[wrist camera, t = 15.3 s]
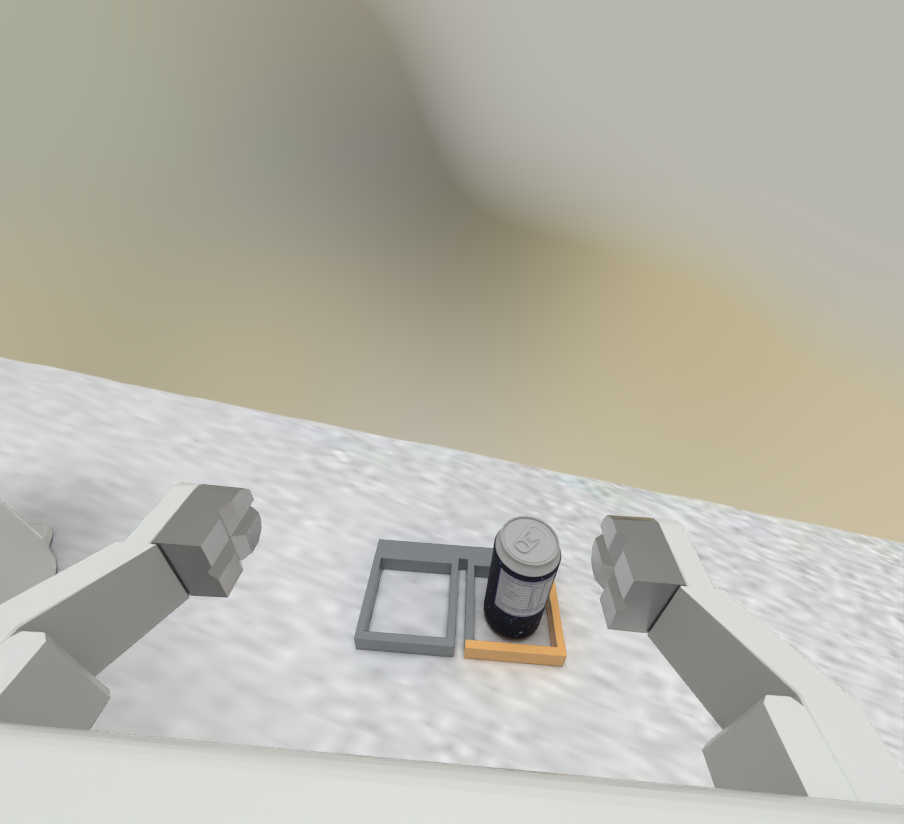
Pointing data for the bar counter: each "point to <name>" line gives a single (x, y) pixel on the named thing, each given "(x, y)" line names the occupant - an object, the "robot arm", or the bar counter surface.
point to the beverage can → (521, 575)
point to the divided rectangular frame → (450, 606)
